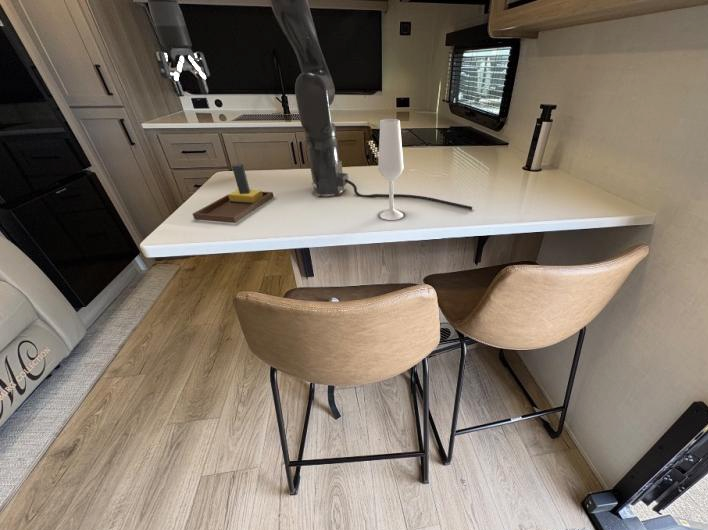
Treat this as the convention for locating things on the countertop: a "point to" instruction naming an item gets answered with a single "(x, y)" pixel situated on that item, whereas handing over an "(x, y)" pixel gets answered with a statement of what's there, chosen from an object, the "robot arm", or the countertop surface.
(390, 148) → the champagne flute
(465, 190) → the countertop surface
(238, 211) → the tray
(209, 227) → the countertop surface
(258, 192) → the grey post with base
